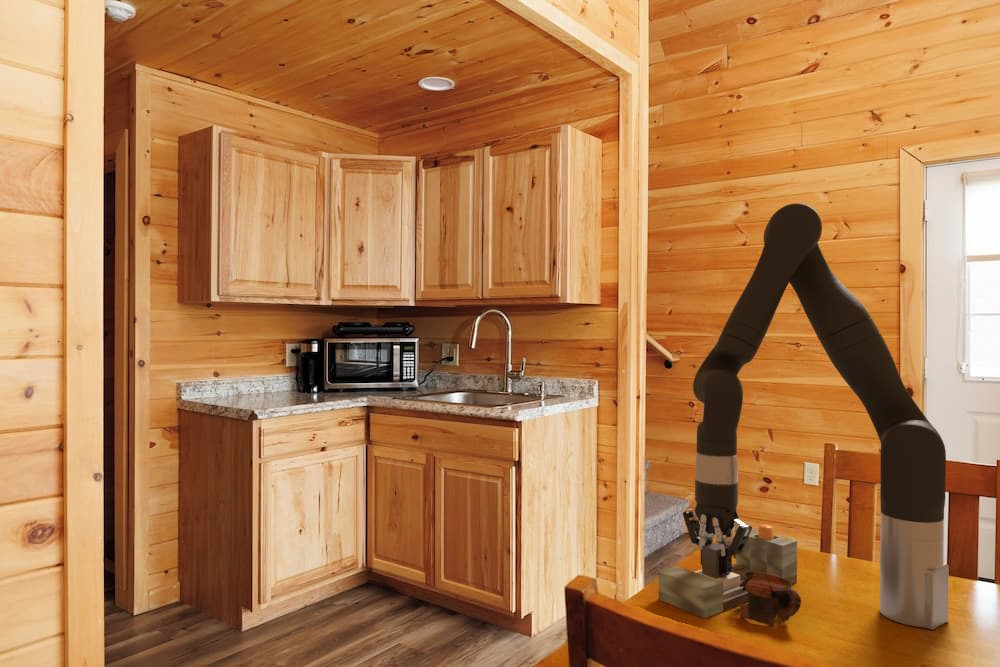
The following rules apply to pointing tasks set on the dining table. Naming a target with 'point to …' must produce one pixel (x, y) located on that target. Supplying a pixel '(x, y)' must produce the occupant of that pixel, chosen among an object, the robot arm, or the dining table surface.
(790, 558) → the rail base
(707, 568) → the carriage
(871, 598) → the dining table surface
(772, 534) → the plunger
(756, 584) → the pottery mug
